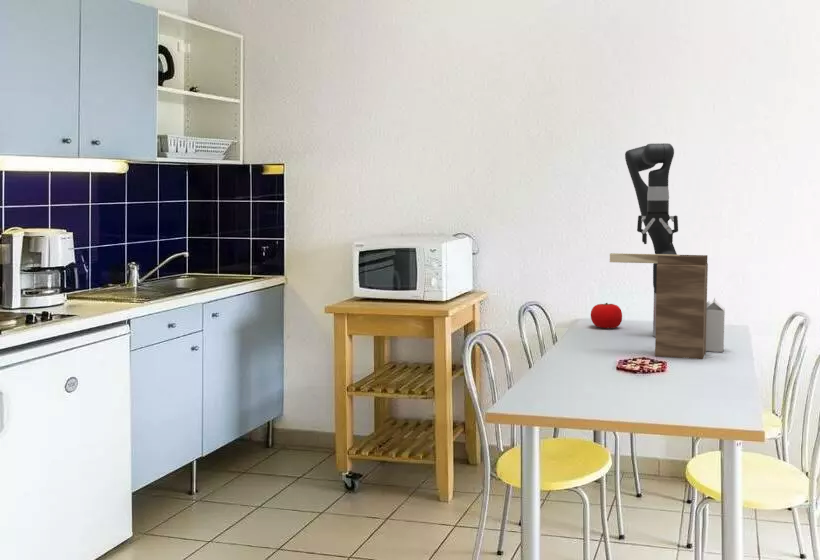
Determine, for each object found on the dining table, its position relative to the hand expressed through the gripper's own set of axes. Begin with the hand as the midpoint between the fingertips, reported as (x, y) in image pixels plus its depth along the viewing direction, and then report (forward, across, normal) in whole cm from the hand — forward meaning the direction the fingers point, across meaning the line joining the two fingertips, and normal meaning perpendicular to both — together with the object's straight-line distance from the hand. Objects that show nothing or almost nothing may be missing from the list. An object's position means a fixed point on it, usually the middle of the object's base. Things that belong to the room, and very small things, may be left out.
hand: (657, 244), depth 359 cm
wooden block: (+6, -3, -11) cm, 13 cm away
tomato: (+38, -26, +44) cm, 64 cm away
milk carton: (+38, +20, +2) cm, 43 cm away
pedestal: (+38, +10, -11) cm, 41 cm away
